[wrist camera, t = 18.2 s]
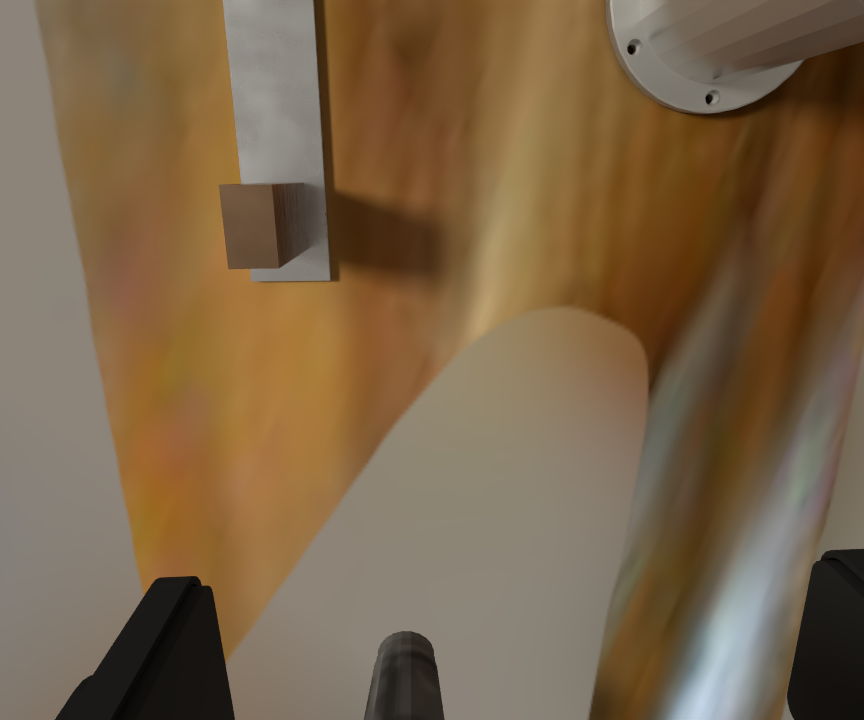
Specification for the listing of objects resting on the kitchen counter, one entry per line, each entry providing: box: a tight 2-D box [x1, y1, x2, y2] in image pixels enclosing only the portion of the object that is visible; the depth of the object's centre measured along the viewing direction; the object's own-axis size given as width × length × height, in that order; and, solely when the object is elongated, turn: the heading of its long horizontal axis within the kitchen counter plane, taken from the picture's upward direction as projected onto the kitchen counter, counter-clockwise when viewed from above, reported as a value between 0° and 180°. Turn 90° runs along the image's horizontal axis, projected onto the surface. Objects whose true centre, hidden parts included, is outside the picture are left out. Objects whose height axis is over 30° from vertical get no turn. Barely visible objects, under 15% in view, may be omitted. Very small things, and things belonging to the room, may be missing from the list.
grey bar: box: [219, 0, 331, 281], centre depth 30 cm, size 5×23×9 cm, turn 0°
